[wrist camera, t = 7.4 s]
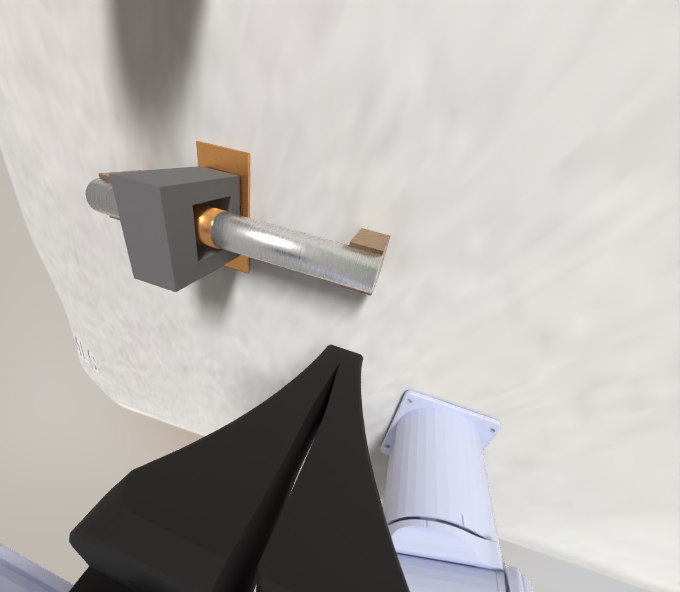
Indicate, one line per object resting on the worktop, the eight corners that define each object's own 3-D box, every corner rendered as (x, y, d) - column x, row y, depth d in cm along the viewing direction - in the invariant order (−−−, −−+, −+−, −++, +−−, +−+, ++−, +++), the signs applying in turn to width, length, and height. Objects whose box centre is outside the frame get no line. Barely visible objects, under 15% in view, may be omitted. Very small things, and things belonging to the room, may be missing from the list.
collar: (239, 175, 19) (159, 186, 13) (240, 255, 22) (176, 292, 16) (201, 166, 19) (109, 173, 14) (208, 245, 22) (134, 278, 17)
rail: (403, 189, 17) (396, 200, 13) (369, 309, 21) (356, 343, 18) (132, 125, 20) (62, 120, 16) (154, 242, 24) (103, 259, 21)
